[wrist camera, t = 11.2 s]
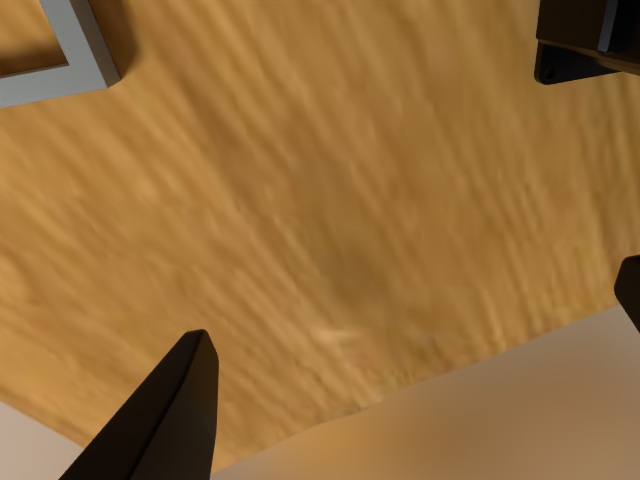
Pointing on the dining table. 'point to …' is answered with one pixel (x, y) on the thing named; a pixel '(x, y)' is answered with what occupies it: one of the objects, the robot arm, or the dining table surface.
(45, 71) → the holder
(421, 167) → the dining table surface
